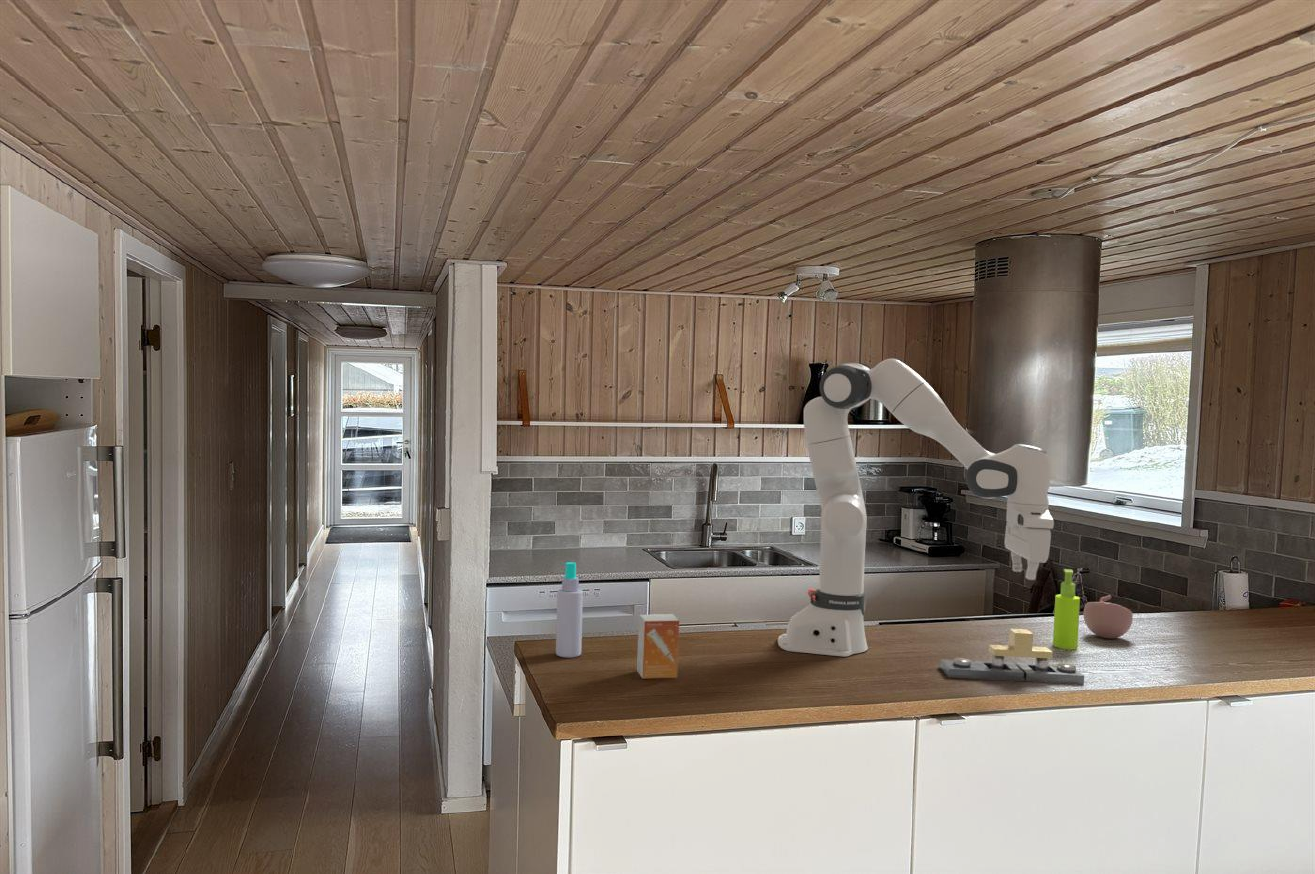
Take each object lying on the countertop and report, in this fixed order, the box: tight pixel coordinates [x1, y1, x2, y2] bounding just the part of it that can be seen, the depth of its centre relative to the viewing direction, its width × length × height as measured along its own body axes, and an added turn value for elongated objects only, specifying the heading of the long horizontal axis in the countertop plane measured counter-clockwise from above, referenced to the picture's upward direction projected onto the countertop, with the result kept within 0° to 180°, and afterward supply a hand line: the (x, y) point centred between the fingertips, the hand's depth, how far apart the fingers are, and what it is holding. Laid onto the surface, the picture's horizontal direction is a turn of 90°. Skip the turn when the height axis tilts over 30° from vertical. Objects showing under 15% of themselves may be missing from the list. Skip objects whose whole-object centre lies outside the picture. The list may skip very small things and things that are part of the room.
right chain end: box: [1014, 662, 1085, 685], centre depth 213 cm, size 13×8×3 cm, turn 86°
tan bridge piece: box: [988, 628, 1053, 672], centre depth 213 cm, size 13×4×10 cm, turn 86°
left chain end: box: [939, 657, 1025, 682], centre depth 214 cm, size 17×8×3 cm, turn 86°
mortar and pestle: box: [1083, 594, 1134, 640], centre depth 251 cm, size 12×12×11 cm
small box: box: [636, 613, 680, 680], centre depth 206 cm, size 8×6×13 cm
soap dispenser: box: [1052, 568, 1081, 650], centre depth 241 cm, size 6×7×20 cm
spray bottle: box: [555, 561, 584, 659], centre depth 219 cm, size 6×6×22 cm
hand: (1023, 575), depth 212 cm, fingers open, 8 cm apart
